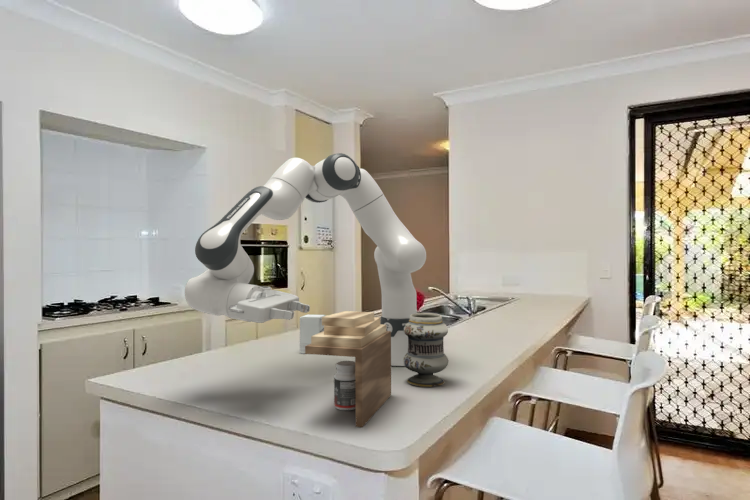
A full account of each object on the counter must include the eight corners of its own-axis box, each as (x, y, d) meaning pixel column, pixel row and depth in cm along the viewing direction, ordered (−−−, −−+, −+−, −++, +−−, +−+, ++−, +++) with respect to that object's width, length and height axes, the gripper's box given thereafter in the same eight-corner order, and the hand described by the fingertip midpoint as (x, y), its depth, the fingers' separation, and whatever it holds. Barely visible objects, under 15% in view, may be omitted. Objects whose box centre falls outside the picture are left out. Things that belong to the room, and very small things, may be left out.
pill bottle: (334, 403, 111) (334, 360, 111) (358, 402, 112) (358, 359, 112) (334, 411, 106) (334, 366, 106) (360, 410, 106) (359, 365, 106)
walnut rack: (305, 421, 100) (305, 346, 100) (343, 391, 121) (343, 329, 121) (362, 427, 96) (361, 349, 96) (391, 395, 117) (390, 331, 117)
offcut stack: (311, 344, 101) (311, 319, 101) (343, 330, 119) (343, 308, 119) (360, 347, 98) (360, 321, 98) (386, 332, 116) (386, 309, 116)
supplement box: (319, 354, 163) (319, 317, 163) (299, 353, 164) (298, 316, 164) (326, 350, 170) (326, 314, 170) (306, 349, 172) (306, 313, 172)
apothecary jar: (421, 391, 120) (421, 319, 120) (394, 380, 130) (393, 314, 130) (458, 383, 127) (457, 315, 127) (429, 373, 137) (429, 310, 137)
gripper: (225, 294, 105) (283, 305, 102) (268, 285, 125) (318, 293, 122) (222, 323, 106) (279, 334, 102) (266, 309, 126) (315, 318, 122)
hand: (300, 312), depth 112 cm, fingers open, 8 cm apart
